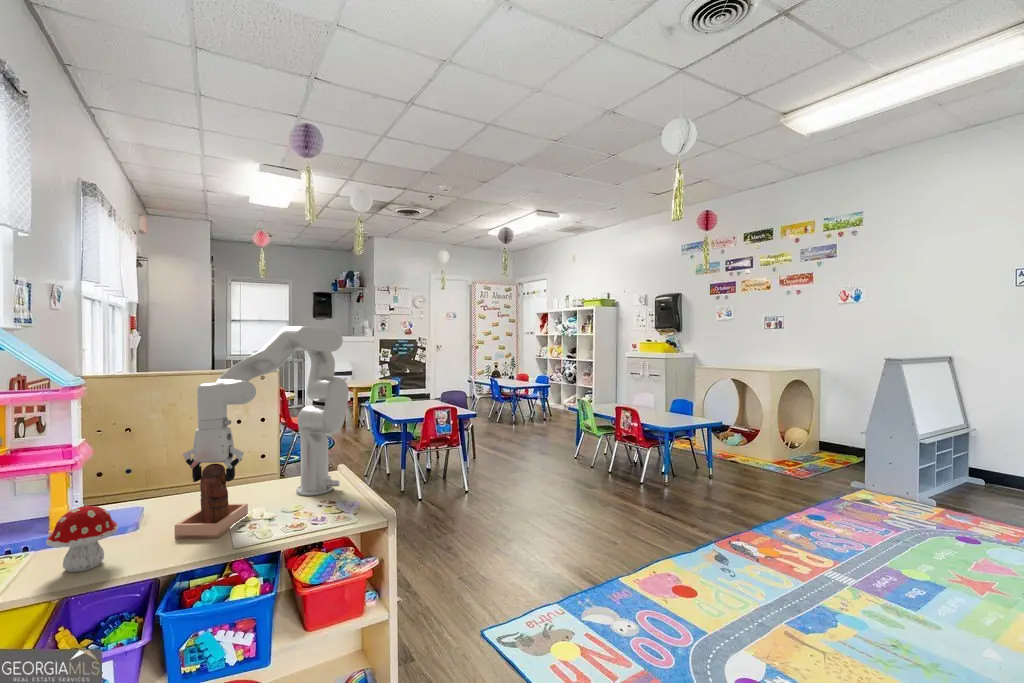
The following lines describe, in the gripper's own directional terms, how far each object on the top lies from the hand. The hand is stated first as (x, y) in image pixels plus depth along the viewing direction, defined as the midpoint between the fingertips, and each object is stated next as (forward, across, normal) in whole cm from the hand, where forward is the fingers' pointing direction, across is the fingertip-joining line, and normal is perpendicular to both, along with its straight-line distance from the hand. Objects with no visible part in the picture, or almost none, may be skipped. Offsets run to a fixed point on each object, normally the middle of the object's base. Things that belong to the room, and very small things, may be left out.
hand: (213, 480), depth 148 cm
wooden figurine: (+13, 0, 0) cm, 13 cm away
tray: (+14, 0, 0) cm, 14 cm away
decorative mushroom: (+14, +18, +25) cm, 34 cm away
